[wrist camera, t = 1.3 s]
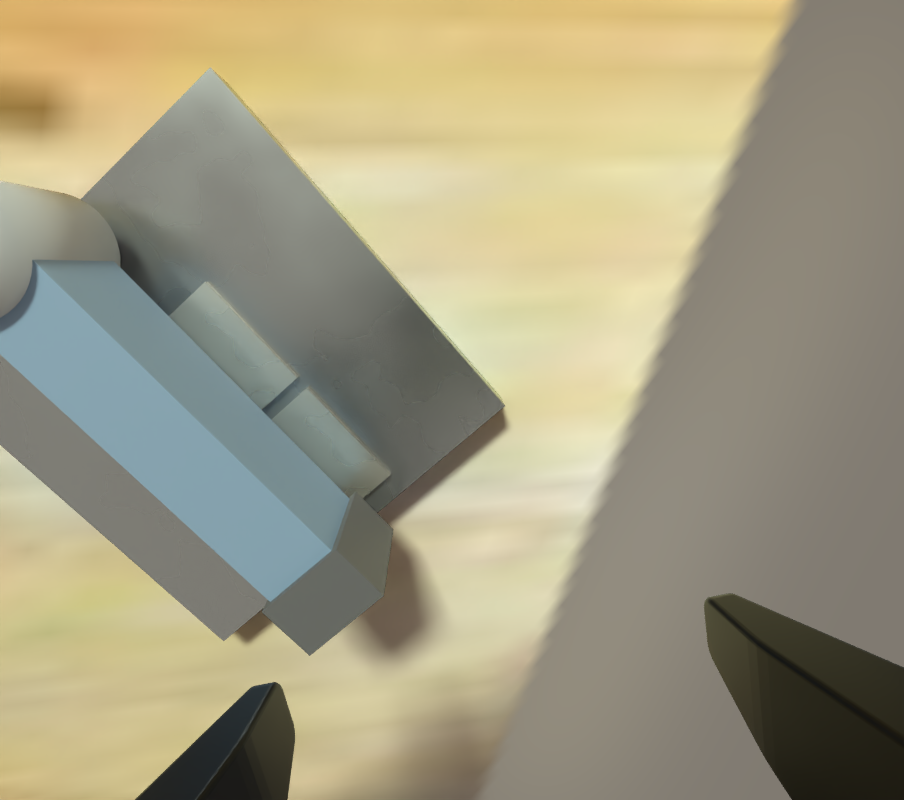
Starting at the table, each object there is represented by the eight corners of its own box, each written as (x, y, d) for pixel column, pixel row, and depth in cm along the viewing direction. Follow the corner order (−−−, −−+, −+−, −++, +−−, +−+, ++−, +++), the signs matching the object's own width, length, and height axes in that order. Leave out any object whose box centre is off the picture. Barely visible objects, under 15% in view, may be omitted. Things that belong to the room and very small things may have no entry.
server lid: (500, 396, 18) (509, 413, 16) (235, 618, 19) (213, 659, 17) (226, 82, 16) (196, 54, 14) (-51, 362, 17) (-116, 375, 15)
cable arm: (400, 521, 16) (392, 590, 13) (326, 583, 17) (300, 665, 13) (53, 165, 14) (-75, 131, 10) (-26, 247, 14) (-174, 240, 11)
